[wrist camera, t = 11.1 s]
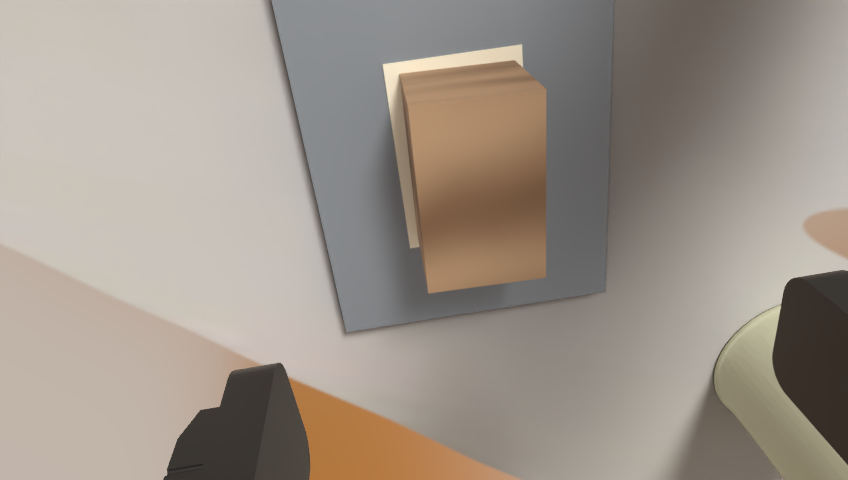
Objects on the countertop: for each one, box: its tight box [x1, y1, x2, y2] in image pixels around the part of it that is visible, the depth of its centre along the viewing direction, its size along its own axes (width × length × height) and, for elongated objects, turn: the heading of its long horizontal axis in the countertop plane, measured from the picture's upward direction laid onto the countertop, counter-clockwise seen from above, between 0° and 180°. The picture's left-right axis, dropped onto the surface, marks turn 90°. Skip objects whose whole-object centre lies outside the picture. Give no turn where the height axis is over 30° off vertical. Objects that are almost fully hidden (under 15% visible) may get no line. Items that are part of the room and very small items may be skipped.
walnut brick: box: [399, 60, 546, 293], centre depth 26 cm, size 8×5×5 cm, turn 5°
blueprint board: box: [271, 0, 614, 332], centre depth 28 cm, size 18×14×1 cm
